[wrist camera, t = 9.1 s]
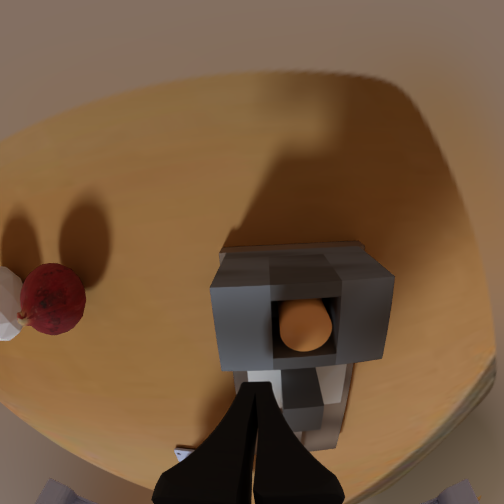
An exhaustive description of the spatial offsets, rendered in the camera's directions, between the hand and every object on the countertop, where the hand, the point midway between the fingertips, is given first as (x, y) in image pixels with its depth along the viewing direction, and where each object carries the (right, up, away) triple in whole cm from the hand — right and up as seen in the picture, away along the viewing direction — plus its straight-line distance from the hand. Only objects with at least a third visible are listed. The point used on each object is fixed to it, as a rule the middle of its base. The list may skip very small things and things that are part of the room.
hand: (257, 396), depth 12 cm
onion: (-16, +4, +10) cm, 19 cm away
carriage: (+3, -2, +9) cm, 9 cm away
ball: (-26, +3, +11) cm, 28 cm away
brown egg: (+3, +4, +5) cm, 7 cm away
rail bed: (+3, -4, +11) cm, 12 cm away
